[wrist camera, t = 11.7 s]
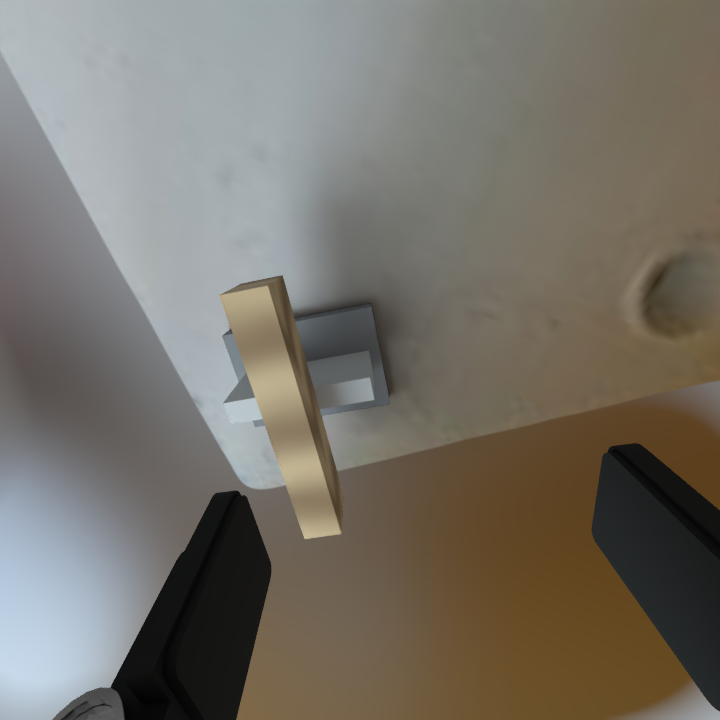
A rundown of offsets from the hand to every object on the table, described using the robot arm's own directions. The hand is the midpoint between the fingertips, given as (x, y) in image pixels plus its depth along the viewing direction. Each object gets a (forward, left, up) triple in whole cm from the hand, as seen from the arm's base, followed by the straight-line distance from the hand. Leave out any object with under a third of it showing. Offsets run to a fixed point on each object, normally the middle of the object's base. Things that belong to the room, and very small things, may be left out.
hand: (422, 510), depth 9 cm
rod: (+5, -8, -17) cm, 20 cm away
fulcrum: (+5, -8, -25) cm, 27 cm away
